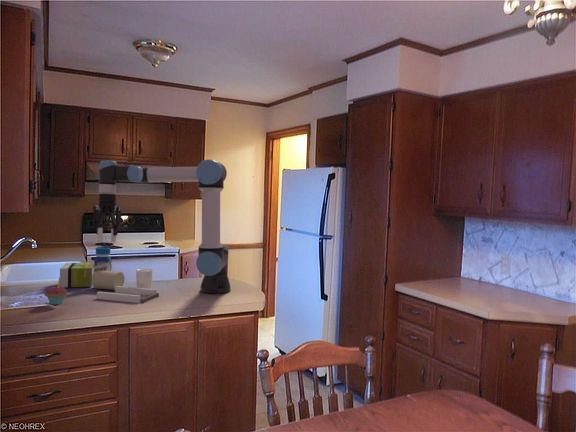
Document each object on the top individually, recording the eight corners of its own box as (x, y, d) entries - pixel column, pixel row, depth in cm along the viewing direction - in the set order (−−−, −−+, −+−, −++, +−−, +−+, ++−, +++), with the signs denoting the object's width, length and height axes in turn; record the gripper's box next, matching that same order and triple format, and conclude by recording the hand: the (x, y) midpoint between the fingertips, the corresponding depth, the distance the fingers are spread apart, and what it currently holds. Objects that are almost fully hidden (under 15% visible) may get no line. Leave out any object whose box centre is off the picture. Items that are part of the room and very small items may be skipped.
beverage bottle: (114, 286, 219) (115, 247, 218) (104, 289, 210) (105, 249, 209) (99, 285, 220) (100, 246, 219) (89, 288, 212) (90, 248, 211)
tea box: (64, 262, 223) (95, 262, 228) (64, 280, 224) (95, 280, 229) (59, 268, 209) (92, 268, 214) (59, 288, 210) (92, 287, 215)
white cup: (149, 292, 209) (149, 272, 208) (133, 291, 209) (133, 271, 208) (154, 288, 216) (154, 269, 216) (139, 288, 217) (139, 268, 216)
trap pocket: (158, 296, 201) (158, 292, 201) (143, 302, 188) (143, 299, 188) (147, 295, 202) (147, 291, 202) (131, 301, 189) (131, 298, 189)
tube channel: (156, 295, 202) (156, 289, 202) (139, 303, 187) (139, 296, 187) (116, 292, 206) (116, 285, 206) (96, 298, 192) (96, 292, 191)
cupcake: (71, 302, 185) (72, 274, 184) (56, 306, 176) (57, 277, 176) (54, 300, 186) (55, 273, 186) (39, 304, 178) (39, 276, 178)
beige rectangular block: (119, 294, 210) (97, 291, 212) (126, 277, 215) (105, 274, 217) (111, 286, 203) (88, 283, 205) (118, 268, 208) (96, 266, 210)
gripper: (130, 194, 203) (129, 242, 204) (94, 193, 207) (93, 240, 208) (121, 193, 196) (120, 243, 197) (84, 192, 200) (83, 241, 201)
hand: (106, 241), depth 202 cm, fingers open, 6 cm apart
